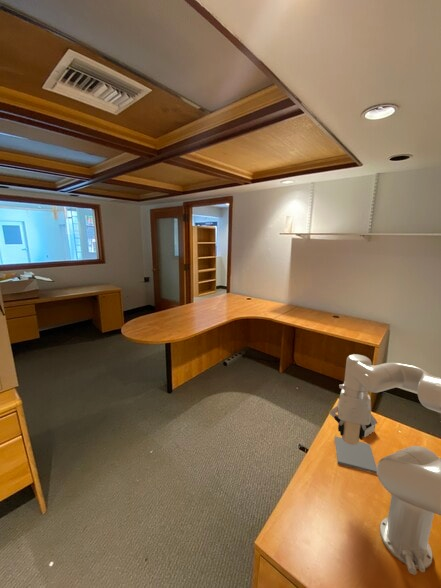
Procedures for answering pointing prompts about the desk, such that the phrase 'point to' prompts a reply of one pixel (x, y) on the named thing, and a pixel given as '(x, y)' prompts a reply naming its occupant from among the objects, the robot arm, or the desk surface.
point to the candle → (351, 433)
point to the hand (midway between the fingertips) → (350, 434)
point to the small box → (369, 430)
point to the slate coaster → (355, 455)
